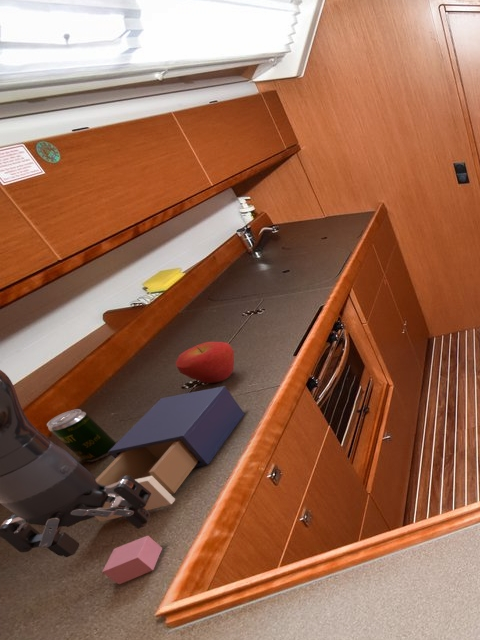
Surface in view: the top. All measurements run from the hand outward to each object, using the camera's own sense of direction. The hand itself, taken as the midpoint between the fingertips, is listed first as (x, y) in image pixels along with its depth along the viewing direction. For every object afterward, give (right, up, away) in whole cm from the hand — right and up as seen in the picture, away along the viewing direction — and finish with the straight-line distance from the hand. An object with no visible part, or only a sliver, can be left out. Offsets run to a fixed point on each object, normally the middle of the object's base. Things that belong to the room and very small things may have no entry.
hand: (109, 537), depth 70 cm
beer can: (-37, +3, +26) cm, 45 cm away
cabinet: (-16, +5, +28) cm, 32 cm away
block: (0, -8, +4) cm, 9 cm away
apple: (-30, +15, +48) cm, 59 cm away
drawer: (-12, 0, +18) cm, 22 cm away
